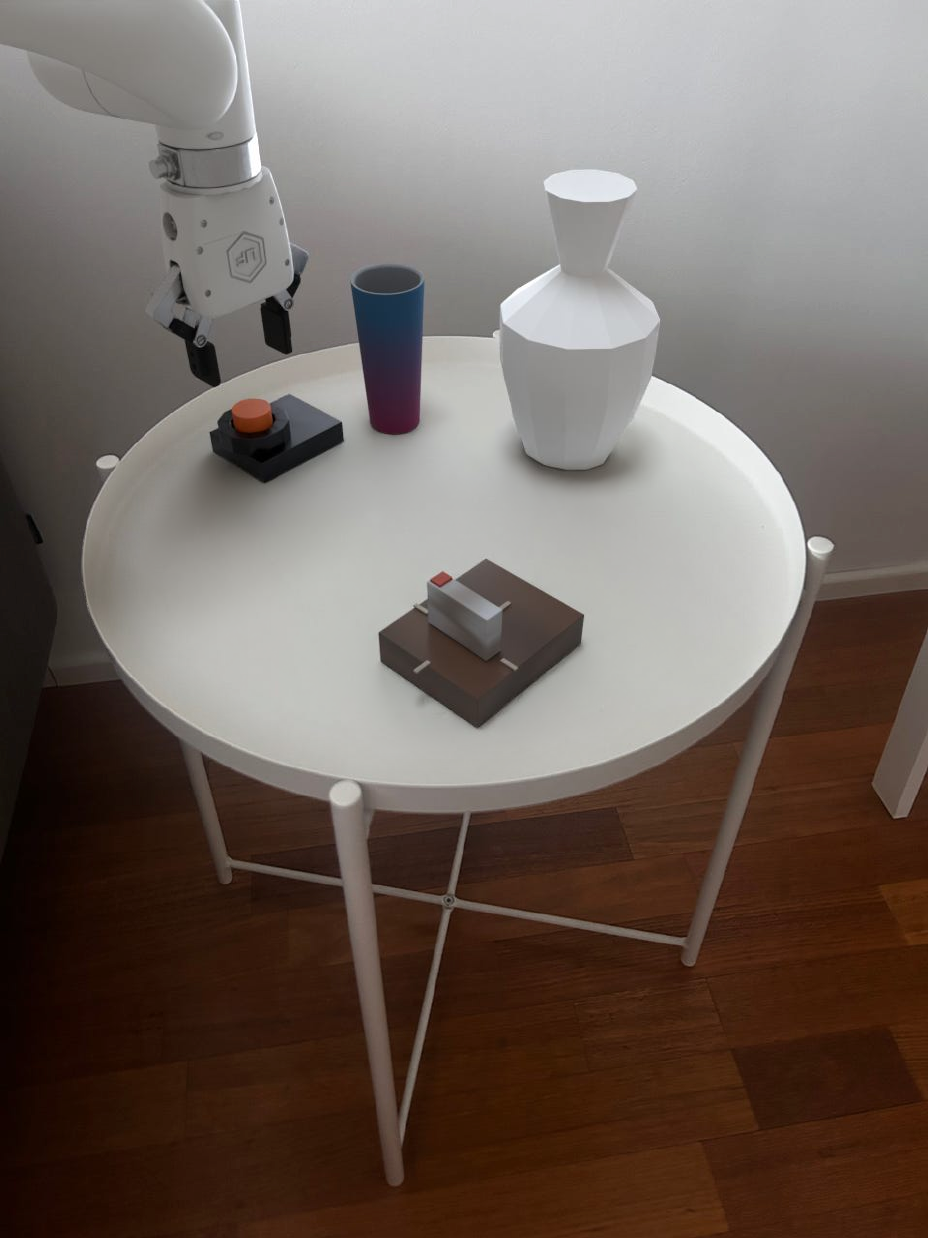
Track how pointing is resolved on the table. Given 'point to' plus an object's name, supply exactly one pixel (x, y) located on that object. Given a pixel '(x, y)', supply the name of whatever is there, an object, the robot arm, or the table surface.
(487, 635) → the grey rectangular block
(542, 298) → the vase
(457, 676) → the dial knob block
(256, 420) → the button
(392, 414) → the cup
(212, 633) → the table surface
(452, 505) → the table surface
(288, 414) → the button box
